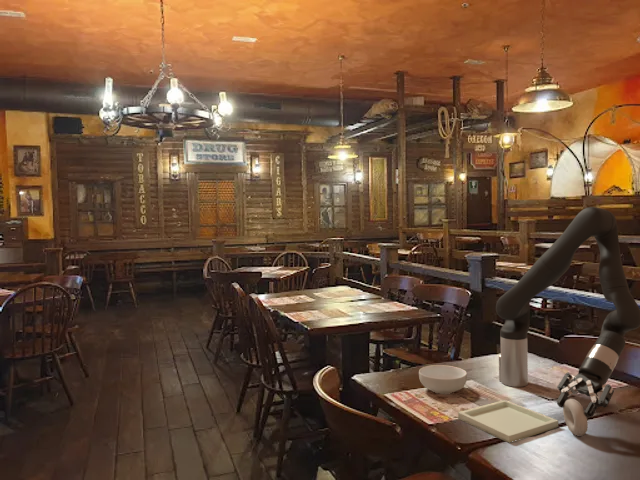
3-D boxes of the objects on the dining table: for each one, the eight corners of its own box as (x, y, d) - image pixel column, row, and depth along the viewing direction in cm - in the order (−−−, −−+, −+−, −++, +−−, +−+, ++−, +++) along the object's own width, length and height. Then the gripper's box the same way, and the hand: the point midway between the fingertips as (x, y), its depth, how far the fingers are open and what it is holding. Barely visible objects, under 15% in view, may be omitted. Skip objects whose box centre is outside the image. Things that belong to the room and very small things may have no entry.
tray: (458, 418, 157) (458, 412, 157) (504, 405, 166) (504, 399, 166) (509, 443, 140) (509, 436, 140) (558, 427, 149) (558, 420, 149)
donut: (592, 441, 138) (588, 406, 138) (579, 443, 138) (575, 407, 138) (574, 425, 148) (571, 392, 148) (562, 427, 148) (559, 394, 148)
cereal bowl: (448, 402, 171) (448, 382, 171) (409, 391, 184) (409, 371, 183) (476, 390, 182) (476, 370, 182) (437, 380, 195) (437, 361, 194)
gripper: (570, 351, 152) (544, 395, 147) (617, 362, 140) (590, 411, 135) (582, 365, 155) (557, 410, 150) (629, 378, 142) (603, 427, 137)
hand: (572, 410), depth 142 cm, fingers closed on donut, 8 cm apart
